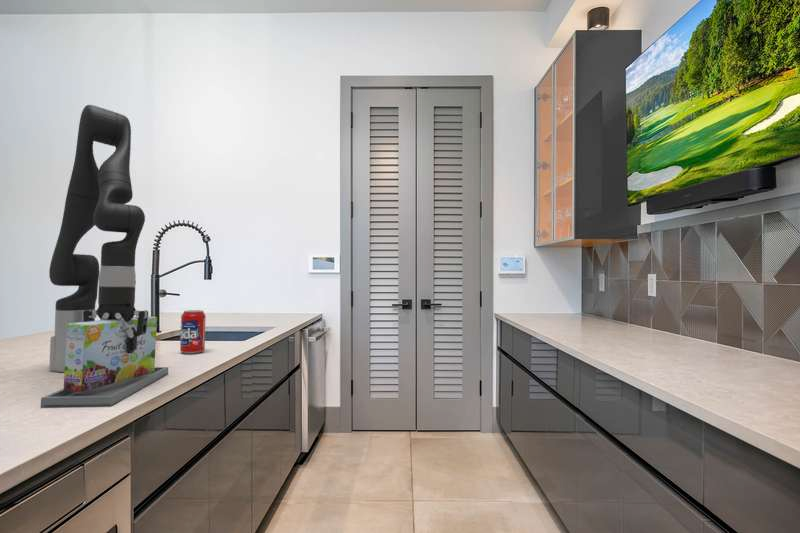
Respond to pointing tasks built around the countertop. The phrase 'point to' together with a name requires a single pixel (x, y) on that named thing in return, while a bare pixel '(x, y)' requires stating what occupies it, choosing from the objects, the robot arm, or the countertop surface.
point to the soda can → (192, 332)
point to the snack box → (106, 353)
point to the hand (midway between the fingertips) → (115, 352)
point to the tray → (103, 392)
